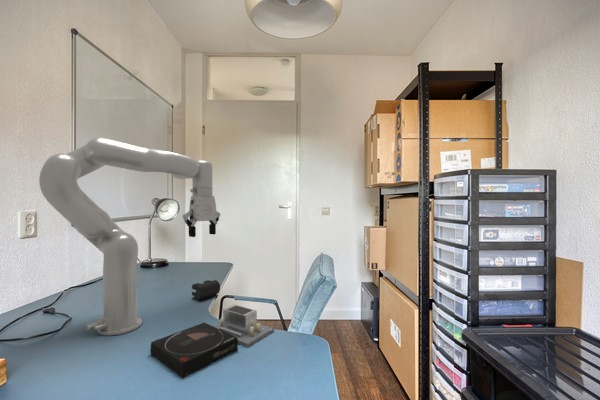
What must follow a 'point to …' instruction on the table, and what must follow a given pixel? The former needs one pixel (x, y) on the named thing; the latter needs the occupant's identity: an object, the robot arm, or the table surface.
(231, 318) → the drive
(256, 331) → the grey pegged fixture plate
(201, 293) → the end cap
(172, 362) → the portable cd player
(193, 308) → the table surface
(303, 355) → the table surface
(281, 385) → the table surface
